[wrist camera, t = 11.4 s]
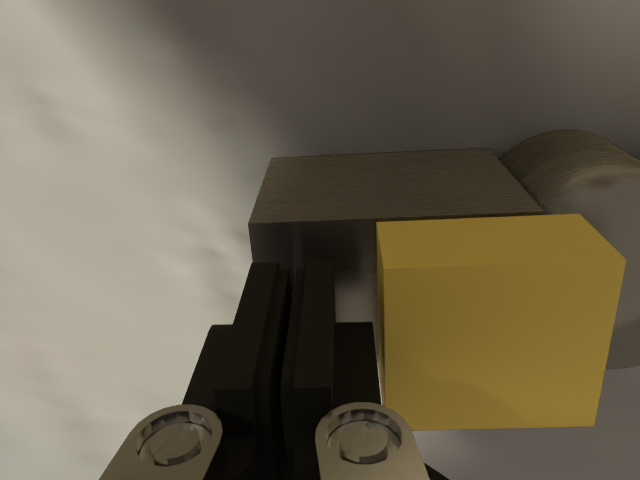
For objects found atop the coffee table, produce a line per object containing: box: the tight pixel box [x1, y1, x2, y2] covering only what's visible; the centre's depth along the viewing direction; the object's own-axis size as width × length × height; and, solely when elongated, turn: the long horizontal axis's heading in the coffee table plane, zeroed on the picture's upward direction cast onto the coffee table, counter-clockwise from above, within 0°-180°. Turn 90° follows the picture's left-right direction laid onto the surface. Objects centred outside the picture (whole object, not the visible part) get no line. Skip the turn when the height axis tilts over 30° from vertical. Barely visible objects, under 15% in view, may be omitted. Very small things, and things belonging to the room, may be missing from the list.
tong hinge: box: [248, 130, 640, 369], centre depth 14 cm, size 10×4×5 cm, turn 93°
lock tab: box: [376, 214, 626, 431], centre depth 11 cm, size 4×4×2 cm
